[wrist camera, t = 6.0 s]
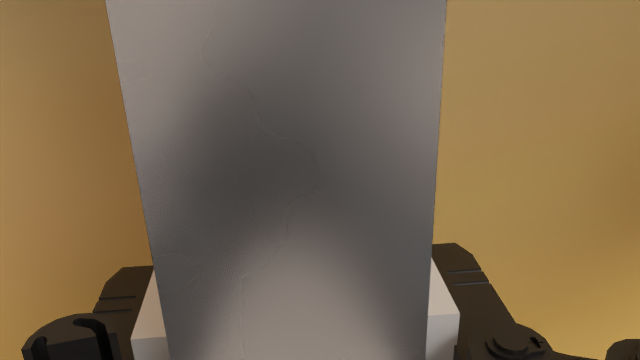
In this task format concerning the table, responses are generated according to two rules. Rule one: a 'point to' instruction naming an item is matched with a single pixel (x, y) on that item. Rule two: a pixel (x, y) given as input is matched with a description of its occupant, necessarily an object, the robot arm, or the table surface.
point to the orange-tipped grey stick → (286, 171)
